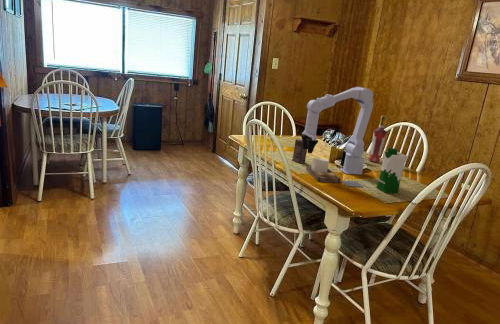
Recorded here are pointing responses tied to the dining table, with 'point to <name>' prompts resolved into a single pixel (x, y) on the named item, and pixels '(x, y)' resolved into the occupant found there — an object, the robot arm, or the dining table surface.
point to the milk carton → (391, 171)
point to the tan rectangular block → (326, 174)
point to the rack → (323, 179)
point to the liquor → (378, 141)
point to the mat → (351, 184)
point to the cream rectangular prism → (320, 165)
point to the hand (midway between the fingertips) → (307, 151)
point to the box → (299, 152)
